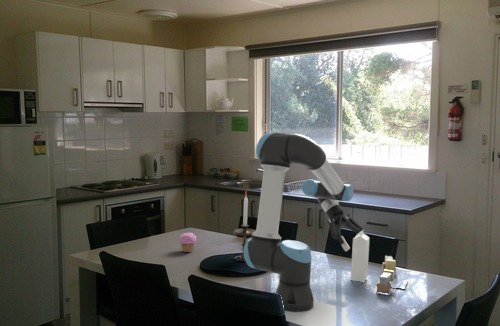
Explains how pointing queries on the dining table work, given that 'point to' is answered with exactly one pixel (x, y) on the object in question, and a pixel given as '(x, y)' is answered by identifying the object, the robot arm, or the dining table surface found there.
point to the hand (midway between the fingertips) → (357, 247)
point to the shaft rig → (386, 275)
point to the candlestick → (244, 228)
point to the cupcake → (187, 241)
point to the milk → (360, 257)
